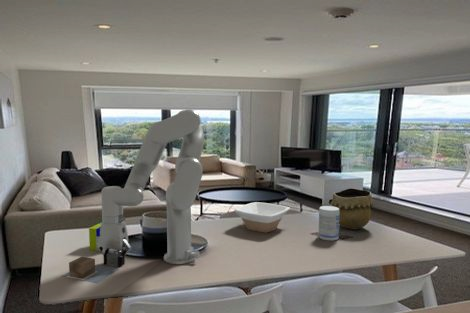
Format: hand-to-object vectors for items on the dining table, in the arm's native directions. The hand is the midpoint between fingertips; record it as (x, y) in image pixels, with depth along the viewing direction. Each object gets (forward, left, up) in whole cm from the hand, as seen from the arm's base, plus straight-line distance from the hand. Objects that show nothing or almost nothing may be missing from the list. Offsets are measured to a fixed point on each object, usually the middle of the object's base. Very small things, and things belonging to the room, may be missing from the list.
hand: (114, 264), depth 133 cm
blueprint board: (+3, +9, -1) cm, 10 cm away
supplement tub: (-75, -62, -1) cm, 97 cm away
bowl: (-41, -66, -1) cm, 78 cm away
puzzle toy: (+16, -15, -1) cm, 22 cm away
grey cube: (0, -1, -1) cm, 2 cm away
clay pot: (-85, -82, -1) cm, 118 cm away
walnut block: (+5, +11, 0) cm, 12 cm away
